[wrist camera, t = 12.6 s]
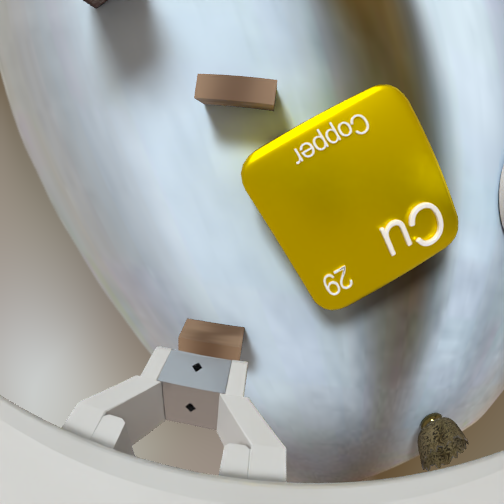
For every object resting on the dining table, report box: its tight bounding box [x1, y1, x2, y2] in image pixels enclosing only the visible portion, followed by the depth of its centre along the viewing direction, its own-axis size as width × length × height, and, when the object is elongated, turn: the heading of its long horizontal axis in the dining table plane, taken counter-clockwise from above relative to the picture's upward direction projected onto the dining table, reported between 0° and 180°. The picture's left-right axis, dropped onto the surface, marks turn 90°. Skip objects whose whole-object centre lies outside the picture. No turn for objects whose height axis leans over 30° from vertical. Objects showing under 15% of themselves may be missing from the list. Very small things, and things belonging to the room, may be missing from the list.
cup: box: [418, 413, 468, 471], centre depth 31 cm, size 8×7×8 cm
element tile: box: [241, 85, 458, 310], centre depth 24 cm, size 15×15×5 cm
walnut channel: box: [179, 74, 277, 361], centre depth 26 cm, size 6×25×4 cm, turn 173°
